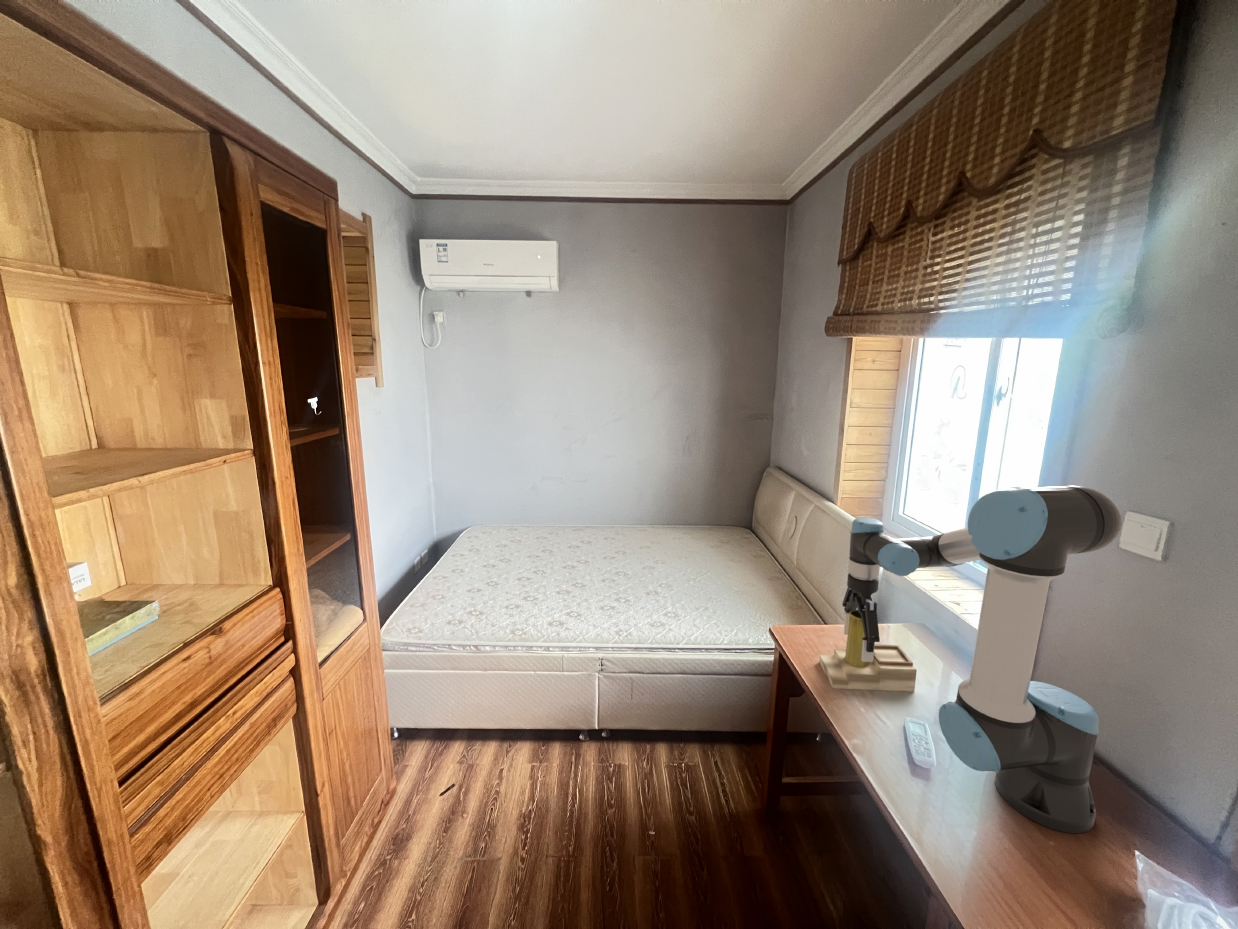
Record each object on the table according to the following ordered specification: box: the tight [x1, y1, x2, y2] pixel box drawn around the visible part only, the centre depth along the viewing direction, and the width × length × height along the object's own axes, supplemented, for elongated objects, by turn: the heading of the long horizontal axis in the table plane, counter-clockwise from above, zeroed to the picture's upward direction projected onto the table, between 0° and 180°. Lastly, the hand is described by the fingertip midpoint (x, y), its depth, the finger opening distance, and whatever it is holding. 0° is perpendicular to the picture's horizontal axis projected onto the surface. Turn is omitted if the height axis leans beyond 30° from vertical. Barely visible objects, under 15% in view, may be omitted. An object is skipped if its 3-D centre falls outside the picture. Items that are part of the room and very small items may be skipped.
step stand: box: [818, 643, 917, 693], centre depth 138 cm, size 12×21×7 cm, turn 84°
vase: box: [845, 609, 869, 667], centre depth 137 cm, size 6×6×14 cm
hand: (857, 647), depth 137 cm, fingers open, 13 cm apart
